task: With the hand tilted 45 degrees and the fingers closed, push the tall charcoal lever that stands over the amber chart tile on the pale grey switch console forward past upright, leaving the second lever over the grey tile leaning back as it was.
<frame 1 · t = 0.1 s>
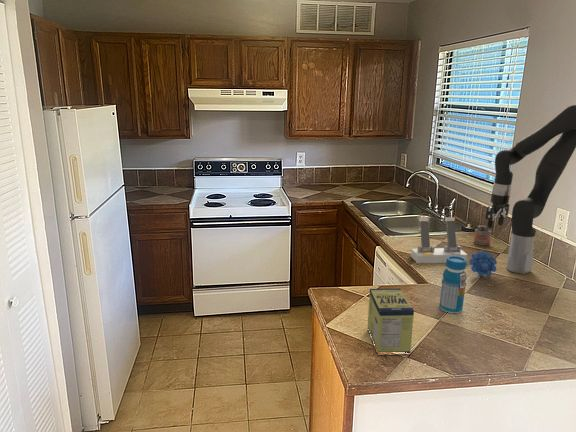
hand: (495, 226, 202), 17 cm above the worktop, tool pointing down, fingers open, 8 cm apart
console: (438, 259, 208), on the worktop
lever amber: (424, 234, 207), point 12 cm above the worktop, hinge at -25.0°
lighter: (481, 244, 230), on the worktop
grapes: (481, 277, 188), on the worktop
lever grey: (451, 234, 208), point 12 cm above the worktop, hinge at -25.0°
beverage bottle: (450, 309, 161), on the worktop
protein box: (387, 342, 139), on the worktop
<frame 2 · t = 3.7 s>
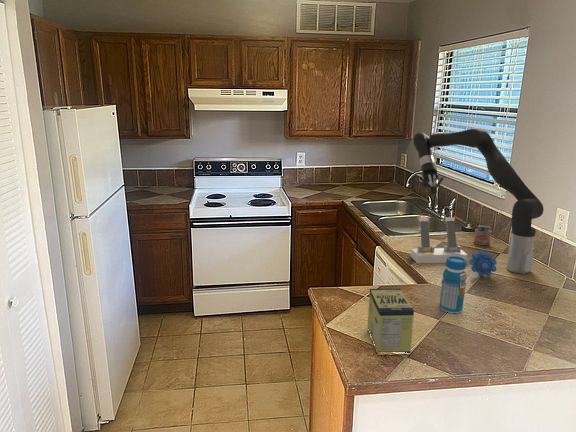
hand: (434, 194, 217), 28 cm above the worktop, tool tilted 45°, fingers closed
nothing on the worktop moved.
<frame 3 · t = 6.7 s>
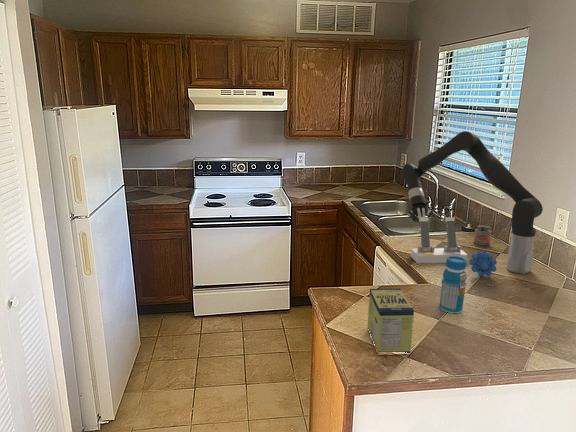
hand: (423, 228, 209), 14 cm above the worktop, tool tilted 45°, fingers closed
lever amber: (424, 234, 207), point 12 cm above the worktop, hinge at -25.0°, touching gripper
everything else where it was.
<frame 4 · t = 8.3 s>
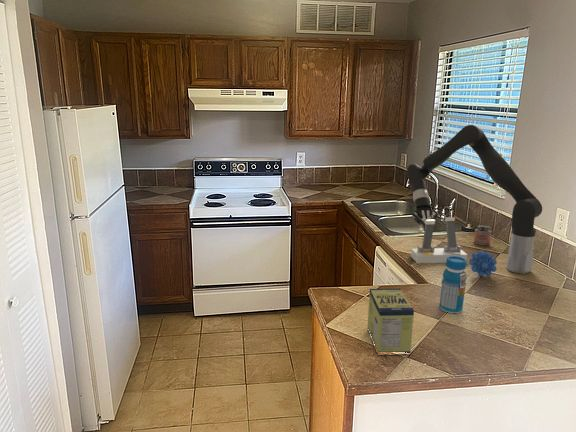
hand: (427, 231, 204), 14 cm above the worktop, tool tilted 45°, fingers closed
lever amber: (428, 236, 203), point 12 cm above the worktop, hinge at 6.8°, touching gripper
everything else where it was.
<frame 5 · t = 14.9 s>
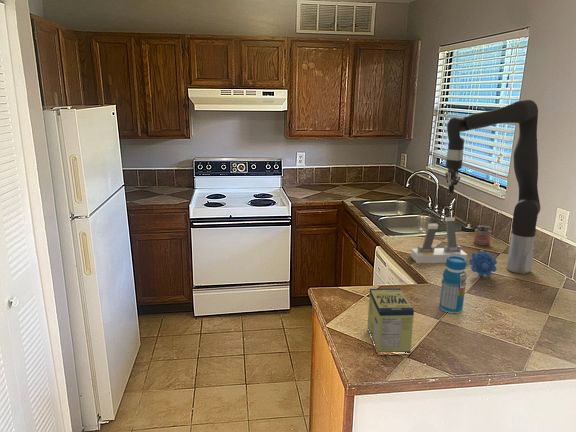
hand: (450, 192, 217), 29 cm above the worktop, tool pointing down, fingers closed
lever amber: (429, 238, 202), point 12 cm above the worktop, hinge at 22.0°
everything else where it was.
at the end: lever amber at +22° (first picture: -25°); lever grey at -25° (first picture: -25°) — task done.
